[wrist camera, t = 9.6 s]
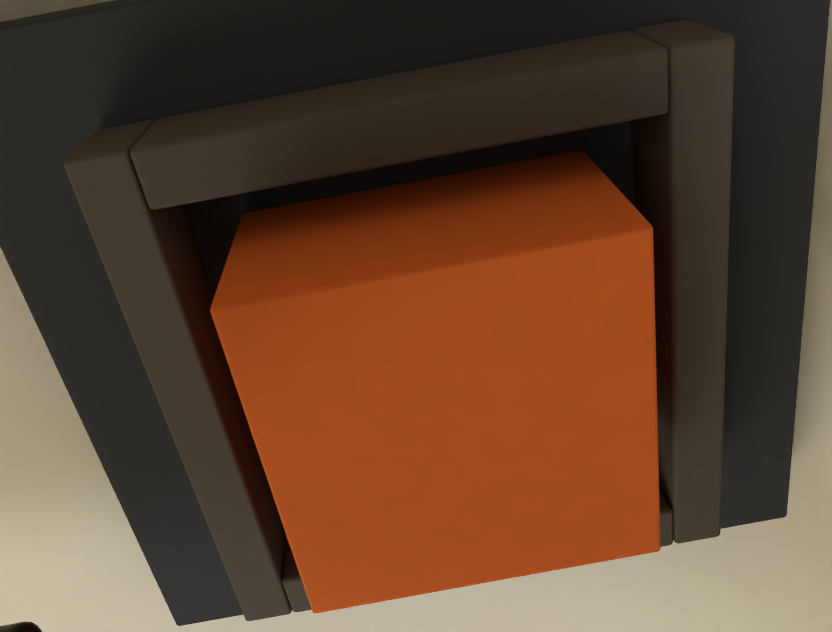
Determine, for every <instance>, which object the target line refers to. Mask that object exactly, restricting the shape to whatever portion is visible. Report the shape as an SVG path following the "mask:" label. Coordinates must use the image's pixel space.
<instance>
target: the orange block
mask: <svg viewBox="0 0 832 632" xmlns="http://www.w3.org/2000/svg"><path fill="white" fill-rule="evenodd" d="M210 312H211V315H212V318H213V321H214V324H215V327H216V330H217V333H218V336H219V339H220V341H221V344H222V347H223V350H224V353H225V356H226V359H227V362H228V365H229V368H230V371H231V374H232V377H233V380H234V383H235V386H236V389H237V391H238V394H239V397H240V400H241V403H242V406H243V409H244V412H245V415H246V418H247V421H248V424H249V427H250V430H251V433H252V436H253V439H254V441H255V444H256V447H257V450H258V453H259V456H260V459H261V462H262V465H263V468H264V471H265V474H266V477H267V480H268V483H269V486H270V489H271V491H272V494H273V497H274V500H275V503H276V506H277V509H278V512H279V515H280V518H281V521H282V524H283V527H284V530H285V533H286V536H287V539H288V542H289V544H290V547H291V550H292V553H293V556H294V559H295V562H296V565H297V568H298V571H299V574H300V577H301V580H302V583H303V586H304V589H305V592H306V594H307V597H308V600H309V603H310V606H311V609H312V611H313V612H314V613H320V612H325V611H331V610H336V609H342V608H347V607H353V606H358V605H364V604H370V603H375V602H381V601H386V600H392V599H397V598H403V597H408V596H414V595H419V594H425V593H430V592H436V591H442V590H447V589H453V588H458V587H464V586H469V585H475V584H480V583H486V582H491V581H497V580H502V579H508V578H513V577H519V576H525V575H530V574H536V573H541V572H547V571H552V570H558V569H563V568H569V567H574V566H580V565H585V564H591V563H597V562H602V561H608V560H613V559H619V558H624V557H630V556H635V555H641V554H646V553H652V552H657V551H659V550H660V504H659V461H658V417H657V374H656V331H655V287H654V244H653V227H652V225H651V224H650V223H649V222H648V221H647V220H646V219H645V218H644V217H643V216H642V214H641V213H640V212H639V211H638V210H637V209H636V208H635V207H634V206H633V205H632V204H631V202H630V201H629V200H628V199H627V198H626V197H625V196H624V195H623V194H622V193H621V192H620V191H619V189H618V188H617V187H616V186H615V185H614V184H613V183H612V182H611V181H610V180H609V179H608V177H607V176H606V175H605V174H604V173H603V172H602V171H601V170H600V169H599V168H598V167H597V166H596V164H595V163H594V162H593V161H592V160H591V159H590V158H589V157H588V156H587V155H586V154H585V152H584V151H582V150H577V151H571V152H566V153H561V154H555V155H550V156H545V157H539V158H534V159H529V160H524V161H518V162H513V163H508V164H502V165H497V166H492V167H486V168H481V169H476V170H470V171H465V172H460V173H455V174H449V175H444V176H439V177H433V178H428V179H423V180H417V181H412V182H407V183H401V184H396V185H391V186H386V187H380V188H375V189H370V190H364V191H359V192H354V193H348V194H343V195H338V196H332V197H327V198H322V199H317V200H311V201H306V202H301V203H295V204H290V205H285V206H279V207H274V208H269V209H263V210H258V211H253V212H248V213H244V214H242V216H241V219H240V222H239V225H238V228H237V231H236V234H235V237H234V240H233V243H232V246H231V249H230V252H229V255H228V258H227V261H226V264H225V267H224V270H223V273H222V276H221V278H220V281H219V284H218V287H217V290H216V293H215V296H214V299H213V302H212V305H211V309H210Z"/></svg>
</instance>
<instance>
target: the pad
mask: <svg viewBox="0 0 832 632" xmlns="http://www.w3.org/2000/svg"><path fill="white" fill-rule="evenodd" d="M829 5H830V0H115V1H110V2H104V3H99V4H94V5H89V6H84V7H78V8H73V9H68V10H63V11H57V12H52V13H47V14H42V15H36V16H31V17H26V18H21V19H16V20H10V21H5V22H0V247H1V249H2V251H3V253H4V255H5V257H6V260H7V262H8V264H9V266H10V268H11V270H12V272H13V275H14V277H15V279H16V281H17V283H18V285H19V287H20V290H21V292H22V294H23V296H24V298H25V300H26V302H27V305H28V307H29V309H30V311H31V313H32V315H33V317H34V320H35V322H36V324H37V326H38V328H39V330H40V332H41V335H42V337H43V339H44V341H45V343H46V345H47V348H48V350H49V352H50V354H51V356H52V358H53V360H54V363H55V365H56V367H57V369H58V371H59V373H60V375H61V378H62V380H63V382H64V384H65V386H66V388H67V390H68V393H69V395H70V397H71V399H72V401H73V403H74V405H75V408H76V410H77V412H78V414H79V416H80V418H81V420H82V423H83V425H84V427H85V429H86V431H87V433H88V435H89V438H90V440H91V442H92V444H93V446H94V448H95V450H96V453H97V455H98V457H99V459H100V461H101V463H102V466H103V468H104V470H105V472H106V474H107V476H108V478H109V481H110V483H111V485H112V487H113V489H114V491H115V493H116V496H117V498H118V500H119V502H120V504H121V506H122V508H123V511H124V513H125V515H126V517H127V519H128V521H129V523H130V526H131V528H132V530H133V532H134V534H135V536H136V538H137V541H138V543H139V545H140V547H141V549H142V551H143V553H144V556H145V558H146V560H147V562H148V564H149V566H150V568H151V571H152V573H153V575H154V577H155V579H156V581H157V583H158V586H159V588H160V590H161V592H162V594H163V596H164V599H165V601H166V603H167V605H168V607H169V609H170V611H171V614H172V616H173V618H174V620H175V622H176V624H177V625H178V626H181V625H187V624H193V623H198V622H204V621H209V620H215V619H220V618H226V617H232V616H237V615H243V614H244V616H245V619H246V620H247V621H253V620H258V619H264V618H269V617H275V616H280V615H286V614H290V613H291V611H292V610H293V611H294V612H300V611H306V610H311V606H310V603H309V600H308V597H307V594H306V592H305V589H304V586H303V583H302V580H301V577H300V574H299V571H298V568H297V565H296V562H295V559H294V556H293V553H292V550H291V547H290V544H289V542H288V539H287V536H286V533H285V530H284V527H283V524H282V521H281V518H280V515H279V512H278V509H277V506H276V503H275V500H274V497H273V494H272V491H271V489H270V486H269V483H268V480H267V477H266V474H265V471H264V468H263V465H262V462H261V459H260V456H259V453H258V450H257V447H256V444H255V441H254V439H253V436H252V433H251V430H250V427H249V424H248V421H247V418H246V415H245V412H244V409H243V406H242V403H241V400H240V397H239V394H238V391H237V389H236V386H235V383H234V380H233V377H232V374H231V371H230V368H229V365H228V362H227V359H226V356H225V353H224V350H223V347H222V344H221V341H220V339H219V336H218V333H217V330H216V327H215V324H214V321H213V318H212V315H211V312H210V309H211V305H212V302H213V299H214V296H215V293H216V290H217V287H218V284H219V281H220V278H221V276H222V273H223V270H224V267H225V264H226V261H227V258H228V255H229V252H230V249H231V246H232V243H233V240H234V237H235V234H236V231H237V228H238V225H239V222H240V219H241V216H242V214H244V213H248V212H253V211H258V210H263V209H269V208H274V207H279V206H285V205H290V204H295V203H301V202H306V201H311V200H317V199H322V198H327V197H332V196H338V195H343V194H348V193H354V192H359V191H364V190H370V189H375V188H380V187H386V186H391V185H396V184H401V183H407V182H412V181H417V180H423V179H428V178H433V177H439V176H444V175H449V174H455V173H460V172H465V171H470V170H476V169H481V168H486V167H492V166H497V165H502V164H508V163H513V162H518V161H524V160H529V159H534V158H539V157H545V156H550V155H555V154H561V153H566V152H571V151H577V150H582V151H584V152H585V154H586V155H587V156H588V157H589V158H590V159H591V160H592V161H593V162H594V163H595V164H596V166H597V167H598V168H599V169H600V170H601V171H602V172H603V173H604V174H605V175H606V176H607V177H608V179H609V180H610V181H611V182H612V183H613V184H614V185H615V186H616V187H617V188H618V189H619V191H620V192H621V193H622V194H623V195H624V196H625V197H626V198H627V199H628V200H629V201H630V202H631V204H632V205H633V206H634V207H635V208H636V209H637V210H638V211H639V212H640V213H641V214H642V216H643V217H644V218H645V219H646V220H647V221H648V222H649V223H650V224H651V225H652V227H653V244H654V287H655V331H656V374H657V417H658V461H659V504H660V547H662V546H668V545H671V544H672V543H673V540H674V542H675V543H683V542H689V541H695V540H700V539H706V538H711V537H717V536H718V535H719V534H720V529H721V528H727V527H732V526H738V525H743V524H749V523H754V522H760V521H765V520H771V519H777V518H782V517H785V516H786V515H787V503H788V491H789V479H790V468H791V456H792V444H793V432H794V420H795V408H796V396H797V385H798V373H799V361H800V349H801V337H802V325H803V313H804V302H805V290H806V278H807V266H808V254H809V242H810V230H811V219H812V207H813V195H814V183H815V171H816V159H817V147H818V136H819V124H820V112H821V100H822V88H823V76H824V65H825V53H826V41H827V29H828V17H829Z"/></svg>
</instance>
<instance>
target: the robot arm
mask: <svg viewBox="0 0 832 632" xmlns="http://www.w3.org/2000/svg"><path fill="white" fill-rule="evenodd" d="M0 632H42V631H41V629H40V628H39V627H38V626H37V625H35V624H34V623H32V622H21V623H15V624H10V625H4V626H0Z"/></svg>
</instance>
